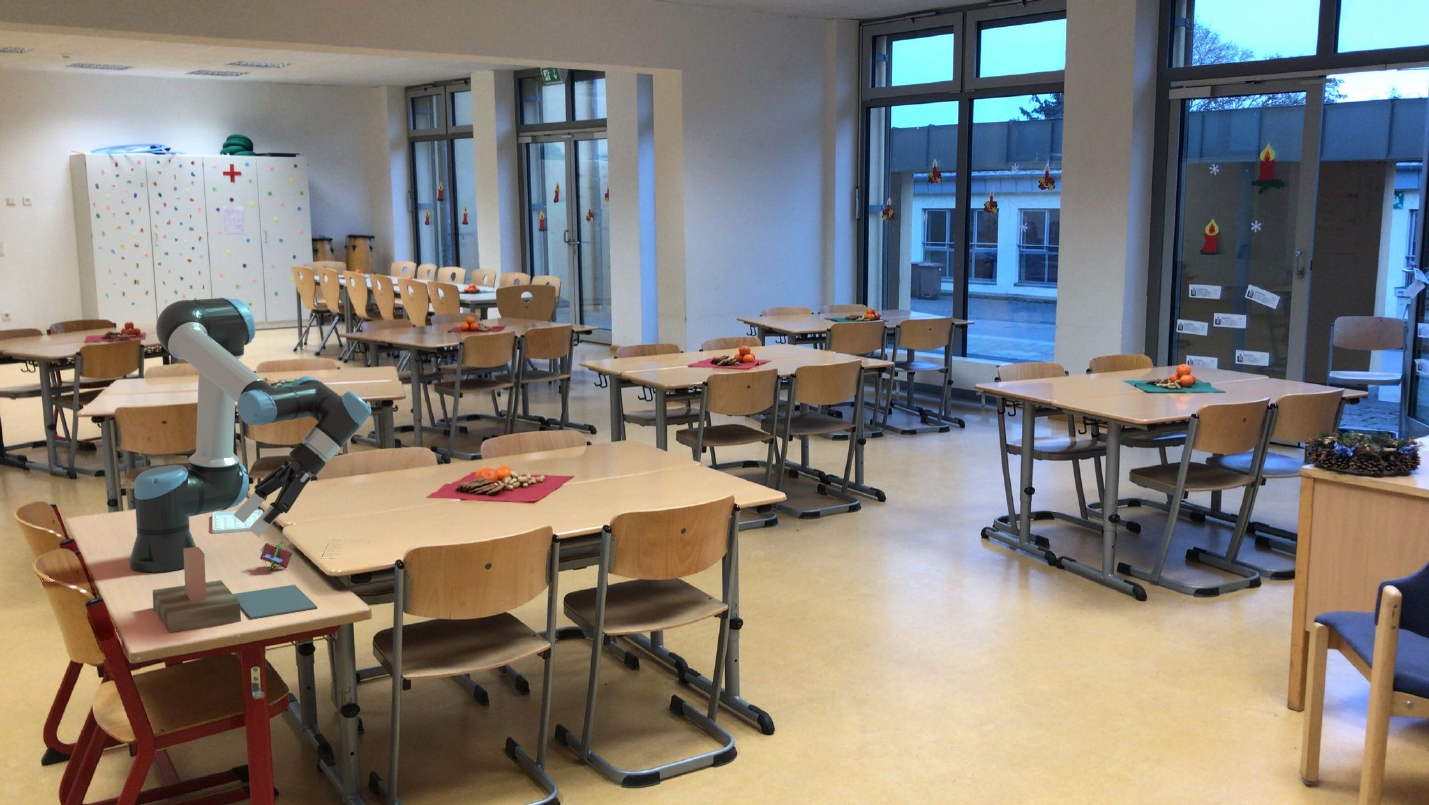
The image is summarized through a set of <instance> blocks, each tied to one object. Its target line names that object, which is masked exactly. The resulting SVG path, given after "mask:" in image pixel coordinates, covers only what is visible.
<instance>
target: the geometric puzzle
mask: <svg viewBox="0 0 1429 805" xmlns="http://www.w3.org/2000/svg"><path fill="white" fill-rule="evenodd" d="M271 543H274V542H271ZM283 544H285V541H284V540H283V541H280V543H279V544H277V545H276V544H275V545H273V544H270V543H268V542H265V544H264V545H263V546H262V548H260V552H259V559H260V560H261V561H262V563H263V564H264V562H265V564H264V565H265V566H266V569H267V571H268V572H270V571H272V569H274V568H275V567H277V566H278V567H280V568H281V567H283V569H286V568H287V569H288V566H289V563H290V560H291V558H292V555H293V552H292V551H289V550H288V549H287V545H284V547H285V548H284V547H282V546H283ZM267 563H268V564H269V565H270V566H269V567H268V565H267ZM273 566H274V567H273ZM272 567H273V568H272ZM280 568H279V569H277V570H280Z"/></svg>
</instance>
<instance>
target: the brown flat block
mask: <svg viewBox="0 0 1429 805" xmlns="http://www.w3.org/2000/svg"><path fill="white" fill-rule="evenodd" d="M233 594H234V593H232V592H231V590H230V589H229V588H228V587H227V585H226V583H224V582H223V581H222V580H221V579H218V580H213V581H206V599H204V600H197V601H190V599H189V598H188V596H187V595H186V594H185V584H184V585H177V586H171V587H164V588H156V589H152V602H153V603H152V604H153V606H152V607H153V610H154V611H155V612H157V613H156V614H157V616H158V617H159V619H160V620H161V622H162V624H163V625H164V627H165V629H166V630H167V632H168V633H175V632H176V633H177V632H181V631H187V630H194V629H200V628H206V627H212V626H218V625H224V624H225V625H226V624H231V623H235V622H237V623H238V622H241V621H242V616H241V613H242V612H241V607H240V602H239V601H238V600H237V598H236V597H235V596H234V595H233Z"/></svg>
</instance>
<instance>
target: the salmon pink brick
mask: <svg viewBox="0 0 1429 805" xmlns="http://www.w3.org/2000/svg"><path fill="white" fill-rule="evenodd" d="M183 551H184V568H183V569H184V570H183V572H184V585H185V594H186V595H187V596H188V598H189V599H190V601H197V600H204V599H206V582H207V581H206V559H205V552H203V550H202V549H201V548H200V546H196V547H192V548H185V549H183Z"/></svg>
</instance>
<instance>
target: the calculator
mask: <svg viewBox="0 0 1429 805" xmlns="http://www.w3.org/2000/svg"><path fill="white" fill-rule="evenodd" d="M236 511H237V510H231V511H230V510H223V511H215V512H212V514H211V526H212V527H211V533H212V534H229V533H230V534H231V533H241V532H242V531H245V532H251V531H250V530H249V528H250V527H251V526H252V525H253V523H254V522H255V521H256V520H257V519H258V518H259V517H260V516H261V515H262V514H263V513H264V511H263V510H262V509H258V508H257V509H256V510H255V511H254V512H253V513H252V514H251V515H250V516H249V517H248V519H247V520H246V521H245V522H244V523H243V522H242V521H240V520H239V519H238V518H236V517H235V516H234V514H235V513H236ZM242 533H243V532H242Z"/></svg>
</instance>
